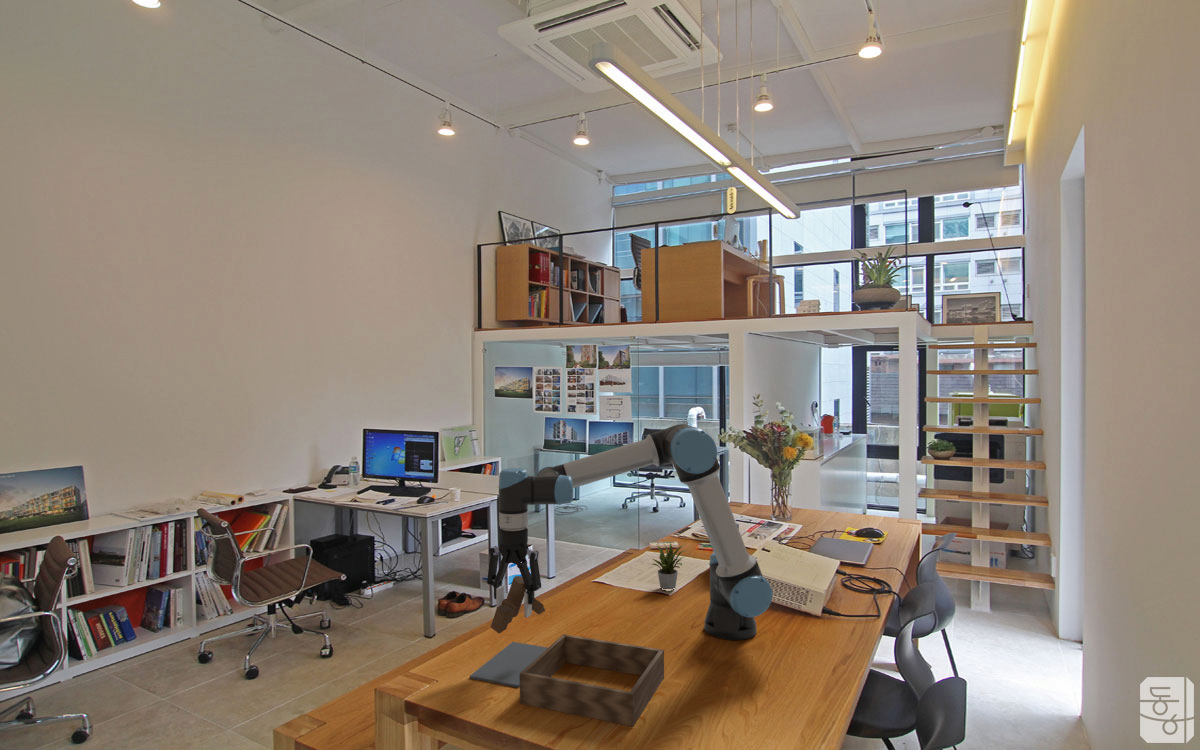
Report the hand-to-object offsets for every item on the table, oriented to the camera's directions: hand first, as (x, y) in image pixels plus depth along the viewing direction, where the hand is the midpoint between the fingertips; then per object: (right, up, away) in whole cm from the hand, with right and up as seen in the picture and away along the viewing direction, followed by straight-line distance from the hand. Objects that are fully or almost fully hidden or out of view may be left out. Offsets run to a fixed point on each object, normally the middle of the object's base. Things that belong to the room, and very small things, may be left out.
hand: (514, 613), depth 172 cm
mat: (0, -13, 0) cm, 13 cm away
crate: (+21, -13, -14) cm, 29 cm away
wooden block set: (0, -1, -2) cm, 2 cm away
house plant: (+48, -13, +57) cm, 76 cm away
